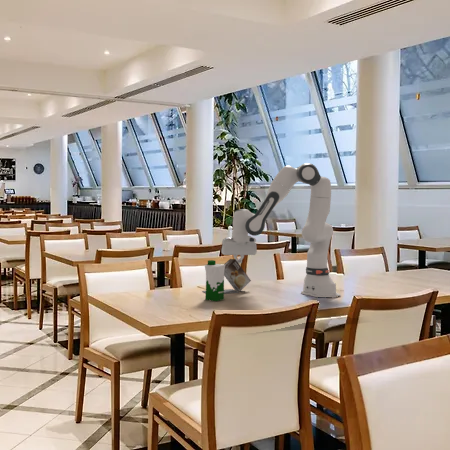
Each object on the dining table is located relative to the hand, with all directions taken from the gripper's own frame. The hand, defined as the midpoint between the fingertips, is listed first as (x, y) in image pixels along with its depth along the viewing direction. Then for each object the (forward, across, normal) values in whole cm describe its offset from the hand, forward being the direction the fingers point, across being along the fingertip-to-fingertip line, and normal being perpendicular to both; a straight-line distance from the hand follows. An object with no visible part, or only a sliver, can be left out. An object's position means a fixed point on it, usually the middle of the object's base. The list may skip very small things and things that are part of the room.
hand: (238, 262), depth 324 cm
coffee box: (+13, +3, -1) cm, 13 cm away
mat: (+16, -10, -1) cm, 19 cm away
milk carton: (+16, -21, -20) cm, 33 cm away
